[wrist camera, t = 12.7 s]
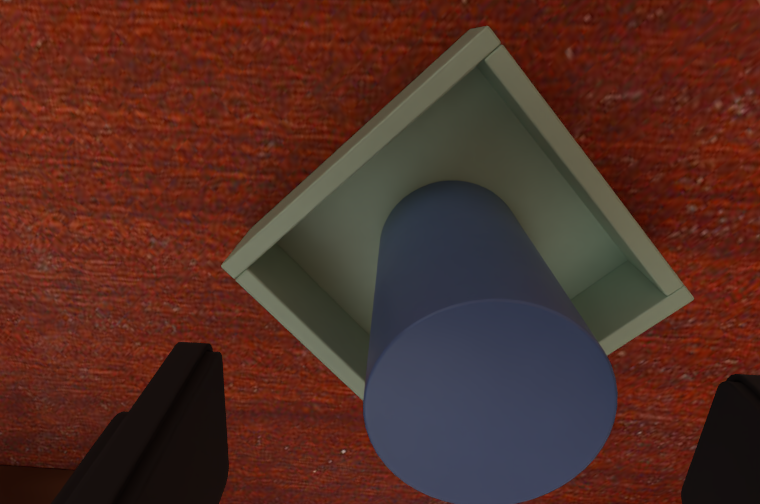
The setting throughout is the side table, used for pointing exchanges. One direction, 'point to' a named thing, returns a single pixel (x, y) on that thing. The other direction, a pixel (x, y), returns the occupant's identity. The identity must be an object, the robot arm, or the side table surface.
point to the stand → (31, 484)
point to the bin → (454, 163)
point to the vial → (478, 356)
